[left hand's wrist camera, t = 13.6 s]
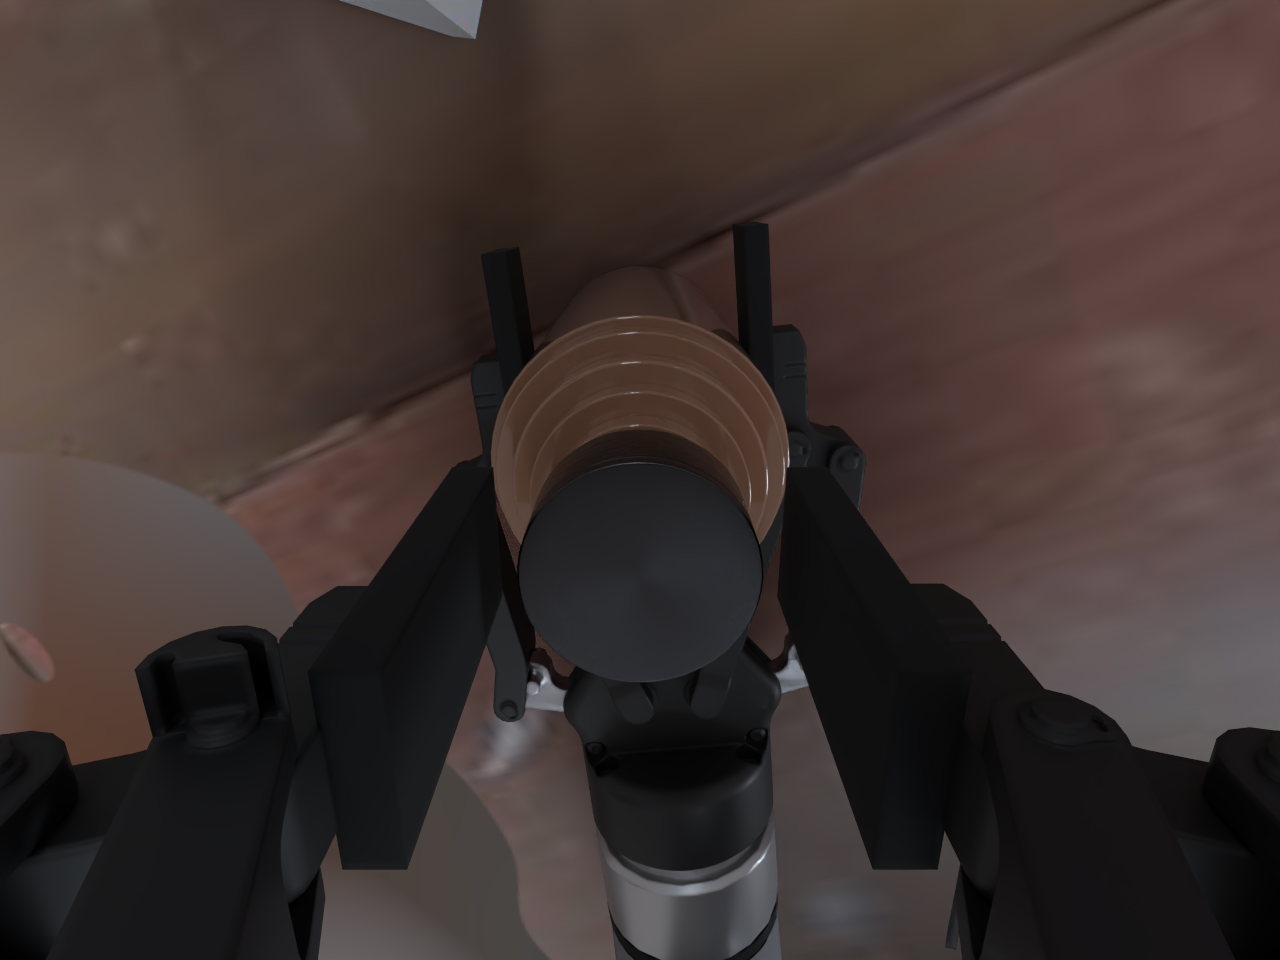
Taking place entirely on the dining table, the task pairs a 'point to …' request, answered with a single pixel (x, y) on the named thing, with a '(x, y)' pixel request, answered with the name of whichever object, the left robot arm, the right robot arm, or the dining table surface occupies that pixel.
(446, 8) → the electronic device
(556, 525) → the cap
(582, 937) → the dining table surface
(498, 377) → the right robot arm
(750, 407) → the bottle
